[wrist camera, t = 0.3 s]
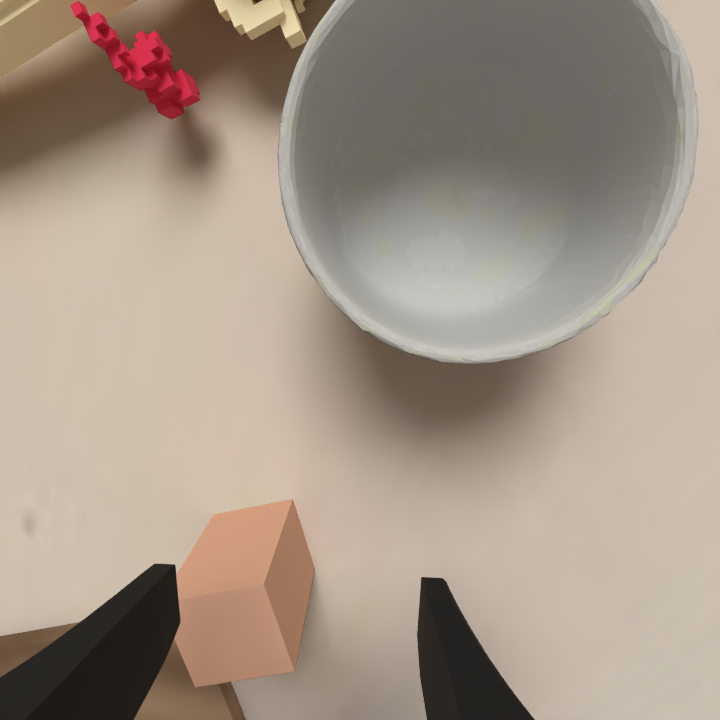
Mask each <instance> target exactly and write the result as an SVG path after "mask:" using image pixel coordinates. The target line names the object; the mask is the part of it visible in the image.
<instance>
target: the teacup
mask: <svg viewBox="0 0 720 720" xmlns="http://www.w3.org/2000/svg"><path fill="white" fill-rule="evenodd" d="M697 140H698V108H697V95H696V92H695V90H694V84H693V76H692V70H691V68H690V65H689V62H688V59H687V56H686V53H685V50H684V48H683V46H682V44H681V42H680V39H679V37H678V35H677V33H676V31H675V29H674V28H673V26H672V24H671V23H670V21H669V19H668V18H667V16H666V14H665V13H664V11H663V9H662V8H661V6H660V5H659V4H658V2H657V1H656V0H335V2H334V3H333V4H332V6H331V7H330V8H329V10H328V11H327V13H326V14H325V15H324V17H323V18H322V19H321V21H320V22H319V24H318V25H317V26H316V28H315V30H314V31H313V33H312V35H311V36H310V38H309V40H308V41H307V43H306V45H305V47H304V50H303V52H302V54H301V56H300V58H299V60H298V62H297V64H296V67H295V70H294V73H293V76H292V79H291V82H290V85H289V88H288V92H287V96H286V99H285V103H284V107H283V112H282V117H281V122H280V136H279V147H278V172H279V183H280V190H281V197H282V204H283V208H284V212H285V216H286V220H287V224H288V227H289V230H290V233H291V235H292V238H293V240H294V242H295V245H296V247H297V249H298V251H299V253H300V255H301V257H302V259H303V261H304V263H305V265H306V267H307V269H308V271H309V272H310V273H311V275H312V276H313V277H314V279H315V280H316V281H317V282H318V284H319V285H320V287H321V288H322V290H323V291H324V292H325V294H326V295H327V296H328V297H329V298H330V300H331V301H332V302H333V303H334V304H335V305H336V306H337V307H338V308H339V309H340V310H341V311H342V312H343V313H344V314H345V315H346V316H347V317H348V318H349V319H350V320H351V321H353V322H354V323H355V324H356V325H357V326H358V327H360V328H361V329H362V330H364V331H365V332H367V333H369V334H370V335H372V336H374V337H375V338H377V339H379V340H381V341H382V342H384V343H386V344H388V345H390V346H392V347H395V348H397V349H399V350H401V351H404V352H406V353H409V354H411V355H414V356H418V357H421V358H425V359H429V360H433V361H438V362H449V363H472V364H480V363H486V362H491V363H495V362H498V361H502V360H510V359H516V358H520V357H524V356H528V355H531V354H534V353H538V352H540V351H543V350H545V349H548V348H551V347H553V346H555V345H557V344H560V343H562V342H564V341H566V340H568V339H570V338H572V337H574V336H575V335H577V334H578V333H580V332H581V331H583V330H585V329H587V328H589V327H591V326H592V325H593V324H595V323H596V322H597V321H599V320H600V319H601V318H603V317H604V316H606V315H607V314H608V313H609V312H610V311H611V310H612V309H613V308H614V307H615V306H616V305H618V304H619V303H620V302H621V301H622V300H623V299H624V298H625V297H627V296H628V295H629V294H630V293H631V292H632V291H633V290H634V289H635V288H636V287H637V286H638V285H639V284H640V282H641V281H642V280H643V278H644V276H645V274H646V272H647V271H648V270H649V269H650V268H651V267H652V266H653V265H654V264H655V263H656V261H657V258H658V255H659V252H660V251H661V250H662V248H663V247H664V246H665V244H666V242H667V239H668V237H669V236H670V234H671V233H672V232H673V230H674V229H675V227H676V226H677V221H678V218H679V216H680V214H681V212H682V209H683V207H684V204H685V201H686V199H687V196H688V193H689V190H690V186H691V183H692V179H693V174H694V167H695V158H696V149H697Z"/></svg>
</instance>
